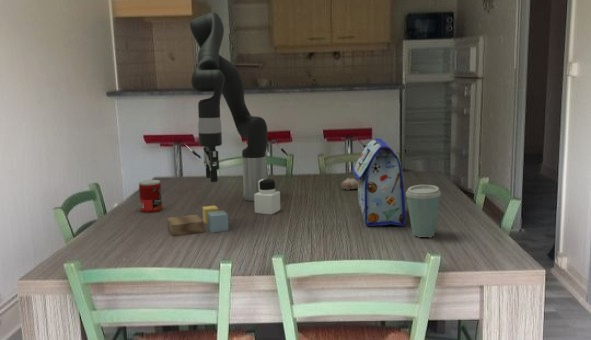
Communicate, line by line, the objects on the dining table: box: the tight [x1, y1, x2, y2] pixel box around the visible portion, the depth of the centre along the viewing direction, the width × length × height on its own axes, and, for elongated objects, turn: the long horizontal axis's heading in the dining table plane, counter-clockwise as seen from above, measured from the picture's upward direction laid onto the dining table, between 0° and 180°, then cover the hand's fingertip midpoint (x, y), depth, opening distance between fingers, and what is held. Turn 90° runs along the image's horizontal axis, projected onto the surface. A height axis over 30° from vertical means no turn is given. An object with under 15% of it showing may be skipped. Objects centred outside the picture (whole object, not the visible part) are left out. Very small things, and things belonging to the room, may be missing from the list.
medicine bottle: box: [253, 178, 281, 216], centre depth 206 cm, size 7×7×12 cm
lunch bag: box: [352, 137, 407, 227], centre depth 192 cm, size 23×17×27 cm
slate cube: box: [207, 210, 229, 234], centre depth 185 cm, size 6×6×6 cm
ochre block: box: [202, 205, 219, 225], centre depth 195 cm, size 4×4×5 cm
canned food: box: [138, 179, 163, 213], centre depth 213 cm, size 8×8×11 cm
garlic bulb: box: [340, 170, 358, 191], centre depth 241 cm, size 8×7×8 cm
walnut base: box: [166, 214, 205, 237], centre depth 185 cm, size 10×10×4 cm
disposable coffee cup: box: [405, 184, 442, 238], centre depth 172 cm, size 11×11×15 cm
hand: (211, 179), depth 189 cm, fingers open, 8 cm apart
